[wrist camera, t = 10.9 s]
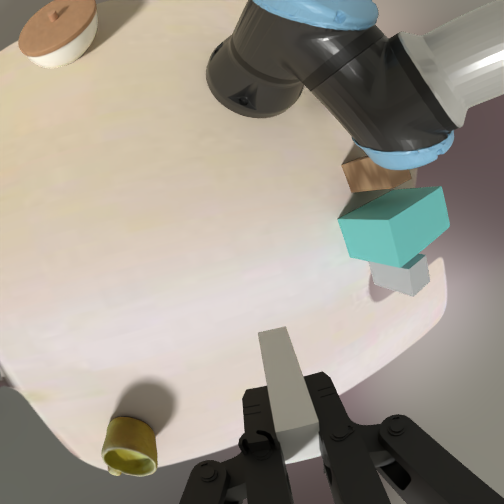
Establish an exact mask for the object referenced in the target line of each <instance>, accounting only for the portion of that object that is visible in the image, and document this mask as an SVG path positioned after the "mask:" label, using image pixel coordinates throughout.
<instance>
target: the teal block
mask: <svg viewBox="0 0 504 504" xmlns="http://www.w3.org/2000/svg"><path fill="white" fill-rule="evenodd" d="M338 222H339V225H340V228H341V231H342V234H343V237H344V240H345V243H346V246H347V249H348V253H349V256H350V257H351V258H356V259H361V260H365V261H370V262H375V263H379V264H384V265H389V266H393V267H398V268H401V267H402V266H403V265H405V264H406V263H407V262H408V261H410V260H411V259H412V258H413V257H415V256H416V255H417V254H418V253H419V252H421V251H422V250H423V249H424V248H426V247H427V246H428V245H429V244H430V243H431V242H433V241H434V240H435V239H436V238H437V237H438V236H440V235H441V234H442V233H443V232H444V231H445V230H446V229H447V228H449V226H450V223H449V218H448V213H447V208H446V204H445V199H444V195H443V190H442V187H441V186H438V187H423V188H410V189H398V190H392V191H390V192H388V193H386V194H384V195H383V196H381V197H379V198H377V199H375V200H373V201H371V202H369V203H367V204H365V205H364V206H362V207H360V208H358V209H356V210H354V211H352V212H350V213H348V214H346V215H344V216H342V217H341V218H339V219H338Z"/></svg>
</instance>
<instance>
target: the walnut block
mask: <svg viewBox="0 0 504 504" xmlns="http://www.w3.org/2000/svg"><path fill="white" fill-rule="evenodd" d="M342 168H343V171H344V173H345V176H346V179H347V181H348V184H349V187H350V189H351V192H352V193H353V192H362V191H371V190H381V189H391V188H395V187H396V186H398V185H400V184H402V183H404V182H406V181H408V180H410V179H412V178H411V175H410V172H409V169H407V170H390V169H386V168H383V167H381V166H379V165H378V164H376V163H374V162H373V161H372V160H371V159H370V158H369V156H365V157H361V158H358V159H356V160H353V161H351V162H348V163H345V164H343V165H342Z"/></svg>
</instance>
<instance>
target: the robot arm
mask: <svg viewBox="0 0 504 504" xmlns="http://www.w3.org/2000/svg"><path fill="white" fill-rule="evenodd" d="M377 18H378V9H377V6H376V4H375V3H373V2H372V0H248V2H247V4H246V6H245V8H244V10H243V12H242V14H241V16H240V18H239V21H238V23H237V25H236V27H235V30H234V32H233V34H232V35H231V36H229V37H228V38H227V39H226V40H224V41H223V42H222V43H221V44H220V45H219V46H217V48H216V49H215V50H214V51H213V53H212V54H211V56H210V59H209V62H208V65H207V69H206V79H207V83H208V86H209V88H210V90H211V92H212V94H213V95H214V96H215V98H216V99H217V100H218V101H219V102H220V103H221V104H223V105H224V106H225V107H227V108H228V109H230V110H231V111H233V112H235V113H238V114H240V115H243V116H247V117H252V118H268V117H273V116H276V115H279V114H281V113H283V112H284V111H286V110H287V109H288V108H290V107H291V106H292V105H293V104H294V103H295V102H296V101H297V100H298V98H299V97H300V95H301V93H302V90H303V86H304V85H305V86H306V87H307V88H308V89H309V90H310V91H311V92H312V93H313V94H314V95H315V96H316V97H317V98H318V99H319V100H320V102H321V103H322V104H323V105H324V106H325V107H326V108H327V109H328V110H329V111H330V112H331V113H332V114H333V115H334V117H335V118H336V119H337V120H338V121H339V122H340V123H341V124H342V126H343V127H344V128H345V129H346V130H347V131H348V133H349V134H350V135H351V136H352V140H353V141H354V142H355V144H356V145H357V146H359V147H360V148H361V149H363V150H364V152H365V153H366V154H367V155H368V156H369V158H370V159H371V160H372V161H373V162H374V163H376V164H378V165H379V166H381V167H383V168H386V169H390V170H407V169H413V168H417V167H420V166H423V165H426V164H428V163H430V162H432V161H434V160H436V159H437V155H439V154H444V153H445V152H446V151H447V150H448V149H449V148H450V146H451V145H452V142H453V140H454V130H455V129H457V128H460V127H462V126H463V123H464V119H465V116H466V111H467V110H468V108H469V107H472V106H474V105H477V104H479V103H482V102H484V101H487V100H489V99H492V98H494V97H497V96H500V95H502V94H504V0H496V1H494V2H491V3H489V4H486V5H484V6H482V7H479V8H477V9H475V10H472V11H470V12H468V13H466V14H464V15H462V16H460V17H458V18H456V19H454V20H452V21H450V22H448V23H446V24H444V25H442V26H440V27H438V28H436V29H434V30H433V31H431V32H429V33H427V34H425V35H423V36H417V35H414V34H410V33H406V32H399V33H398V34H396V35H394V36H393V37H391V38H387V37H386V36H385V35H384V34H383V33H382V32H381V30H379V28H378V27H377V26H376V25H375V23H376V21H377ZM258 336H259V342H260V348H261V354H262V359H263V365H264V371H265V376H266V382H267V386H263V387H258V388H253V389H247V390H246V391H245V394H244V396H243V398H242V402H243V415H244V429H245V433H244V434H243V435H242V436H241V437H240V439H239V443H238V445H239V447H240V449H241V453H240V454H239V455H237V456H236V457H234V458H232V459H229V460H227V461H224V462H221V463H220V462H217V461H214V460H207V461H203V462H200V463H199V464H197V465H196V466H195V467H194V468H193V470H192V472H191V474H190V477H189V479H188V482H187V485H186V487H185V490H184V492H183V495H182V498H181V500H180V503H179V504H242V503H243V499H246V498H247V500H248V504H294V501H293V496H292V492H291V486H290V482H289V477H288V473H287V470H286V464H288V463H293V462H298V461H302V460H306V459H310V458H314V457H318V456H321V455H322V458H323V463H324V473H326V476H327V480H328V483H329V486H330V489H331V493H332V496H333V499H334V503H335V504H391V503H390V500H389V498H388V496H387V493H386V491H385V489H384V487H383V484H382V482H381V479H380V477H379V475H378V473H377V471H378V472H379V473H380V474H381V475H382V477H383V478H384V479H385V480H386V481H387V482H388V483H389V485H391V487H392V488H393V489H394V490H395V491H396V492H397V493H398V494H399V496H401V498H402V499H403V500H404V501H405V502H406V503H407V504H504V498H502V497H501V496H500V495H499V494H498V493H496V492H495V491H494V490H493V489H492V488H490V487H489V486H488V485H487V484H485V483H484V482H483V481H482V480H481V479H479V478H478V477H477V476H476V475H475V474H473V473H472V472H471V471H470V470H469V469H468V468H466V467H465V466H464V465H463V464H462V463H461V462H459V461H458V460H457V459H456V458H455V457H454V456H452V455H451V454H450V453H449V452H448V451H447V450H445V449H444V448H443V447H442V446H441V445H440V444H439V443H437V442H436V441H435V440H434V439H433V438H432V437H430V436H429V435H428V434H427V433H426V432H425V431H423V430H422V429H421V428H420V427H419V426H418V425H417V424H416V423H414V422H413V421H412V420H411V419H410V418H408V417H407V416H405V415H399V414H398V415H392V416H390V417H387V418H386V419H385V420H384V421H383V422H382V423H381V424H377V425H359V424H356V423H354V422H352V421H351V420H350V418H349V417H348V415H347V413H346V411H345V408H344V406H343V404H342V402H341V400H340V398H339V395H338V394H337V391H336V389H335V387H334V384H333V382H332V380H331V378H330V377H329V376H328V375H326V374H325V373H324V372H323V371H322V372H319V373H315V374H312V375H308V376H304V377H303V374H302V372H301V369H300V366H299V363H298V360H297V357H296V354H295V351H294V349H293V346H292V343H291V340H290V337H289V334H288V331H287V329H286V326H285V327H281V328H277V329H272V330H268V331H263V332H259V333H258ZM376 470H377V471H376Z"/></svg>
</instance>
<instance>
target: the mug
mask: <svg viewBox="0 0 504 504" xmlns="http://www.w3.org/2000/svg"><path fill="white" fill-rule="evenodd" d="M102 459H103V461H104V462H105V464H106V465H108V471H109V473H111V474H113V475H115V476H119V475H120V474H121V473H124V474H127V475H132V476H147V475H150V474H152V473H154V472H155V471H156V469H157V465H158V464H157V448H156V440H155V435H154V432H153V430H152V429H151V428H150V426H149V425H148V424H146V423H144V422H143V421H141V420H138V419H134V418H131V417H117V418H115V419H113V420H112V421H111V422H110V423H109V425H108V427H107V433H106V438H105V441H104V444H103V448H102Z"/></svg>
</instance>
